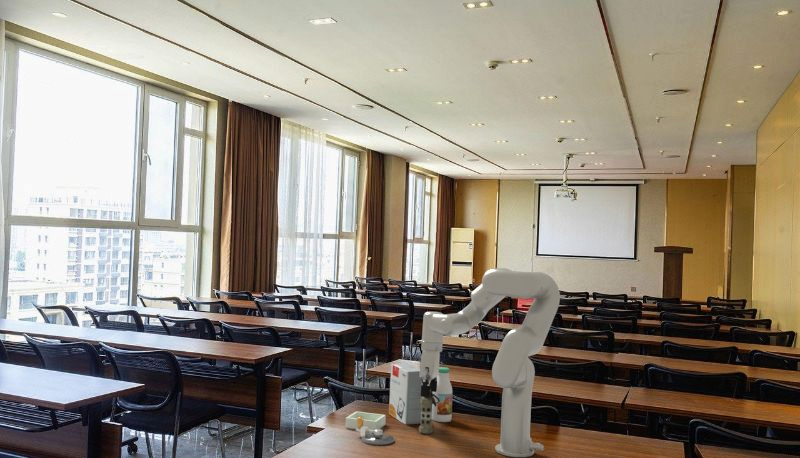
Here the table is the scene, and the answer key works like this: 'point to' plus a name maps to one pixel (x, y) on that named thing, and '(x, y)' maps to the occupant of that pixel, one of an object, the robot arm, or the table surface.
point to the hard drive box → (405, 393)
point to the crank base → (373, 440)
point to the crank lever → (376, 433)
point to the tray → (366, 420)
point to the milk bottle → (443, 397)
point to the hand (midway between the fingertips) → (428, 393)
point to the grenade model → (427, 413)
